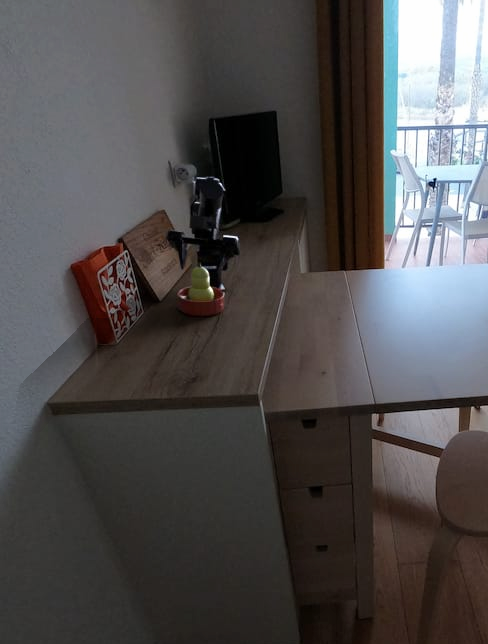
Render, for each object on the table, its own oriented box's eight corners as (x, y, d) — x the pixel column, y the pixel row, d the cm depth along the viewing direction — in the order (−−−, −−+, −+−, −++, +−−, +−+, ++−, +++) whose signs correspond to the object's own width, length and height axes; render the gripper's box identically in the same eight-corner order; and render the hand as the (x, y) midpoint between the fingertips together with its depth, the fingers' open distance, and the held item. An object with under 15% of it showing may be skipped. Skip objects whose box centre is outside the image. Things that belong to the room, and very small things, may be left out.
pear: (187, 302, 129) (184, 259, 123) (211, 301, 132) (209, 258, 126) (191, 312, 124) (188, 267, 118) (216, 310, 127) (214, 266, 121)
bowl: (175, 301, 130) (174, 286, 128) (219, 299, 136) (218, 284, 134) (182, 319, 121) (181, 303, 119) (229, 315, 127) (228, 300, 124)
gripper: (165, 198, 119) (153, 251, 115) (238, 206, 121) (229, 259, 116) (177, 222, 130) (167, 272, 126) (244, 229, 131) (236, 279, 127)
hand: (199, 270), depth 123 cm, fingers open, 9 cm apart
